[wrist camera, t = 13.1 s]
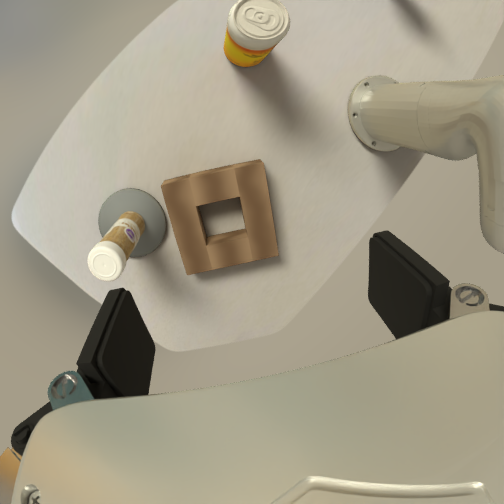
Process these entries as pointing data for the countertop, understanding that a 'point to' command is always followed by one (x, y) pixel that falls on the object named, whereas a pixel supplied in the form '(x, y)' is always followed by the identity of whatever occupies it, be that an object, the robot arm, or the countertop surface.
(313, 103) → the countertop surface
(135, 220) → the sprinkles bottle
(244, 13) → the beer can
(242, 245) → the walnut pocket block
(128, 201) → the slate coaster
